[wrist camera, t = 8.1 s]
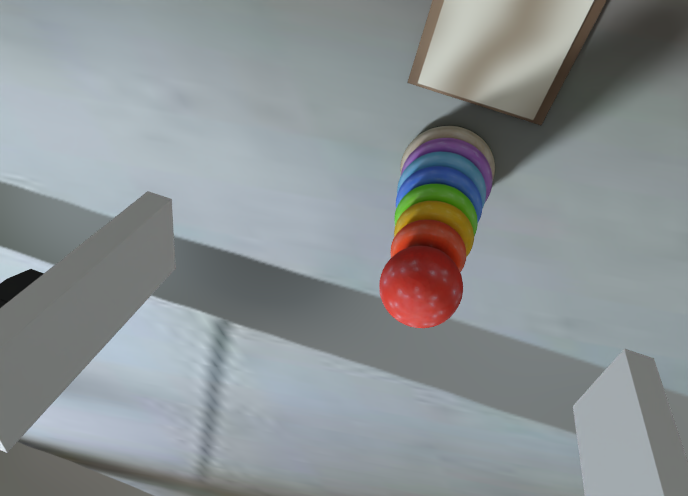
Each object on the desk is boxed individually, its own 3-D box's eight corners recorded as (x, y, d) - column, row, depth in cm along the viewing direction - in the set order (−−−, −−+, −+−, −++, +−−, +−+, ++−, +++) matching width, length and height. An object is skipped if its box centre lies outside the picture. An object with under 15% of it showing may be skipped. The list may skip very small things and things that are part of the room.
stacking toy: (393, 132, 41) (332, 259, 26) (487, 113, 37) (478, 244, 23) (413, 209, 44) (370, 357, 30) (500, 198, 41) (499, 356, 27)
